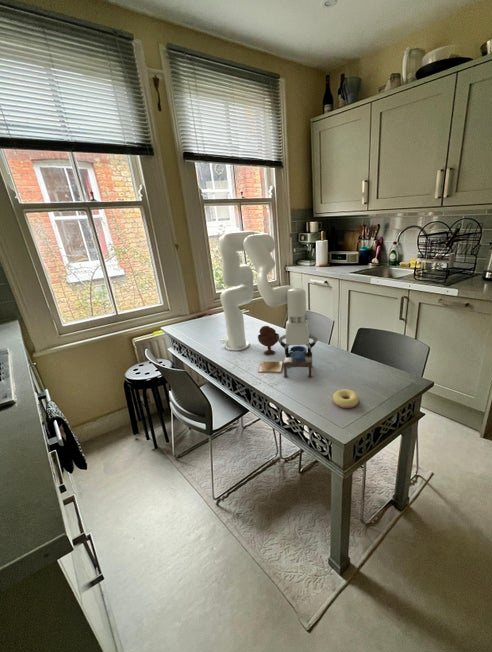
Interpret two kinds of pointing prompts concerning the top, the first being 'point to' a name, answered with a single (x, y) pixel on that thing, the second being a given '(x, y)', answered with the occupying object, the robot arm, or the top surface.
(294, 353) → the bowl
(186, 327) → the top surface
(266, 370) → the mat
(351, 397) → the donut
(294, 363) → the stand
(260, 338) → the ice cream bowl
